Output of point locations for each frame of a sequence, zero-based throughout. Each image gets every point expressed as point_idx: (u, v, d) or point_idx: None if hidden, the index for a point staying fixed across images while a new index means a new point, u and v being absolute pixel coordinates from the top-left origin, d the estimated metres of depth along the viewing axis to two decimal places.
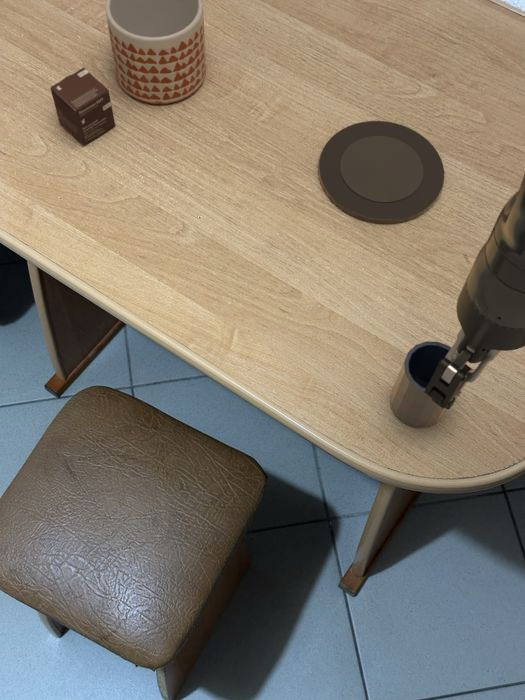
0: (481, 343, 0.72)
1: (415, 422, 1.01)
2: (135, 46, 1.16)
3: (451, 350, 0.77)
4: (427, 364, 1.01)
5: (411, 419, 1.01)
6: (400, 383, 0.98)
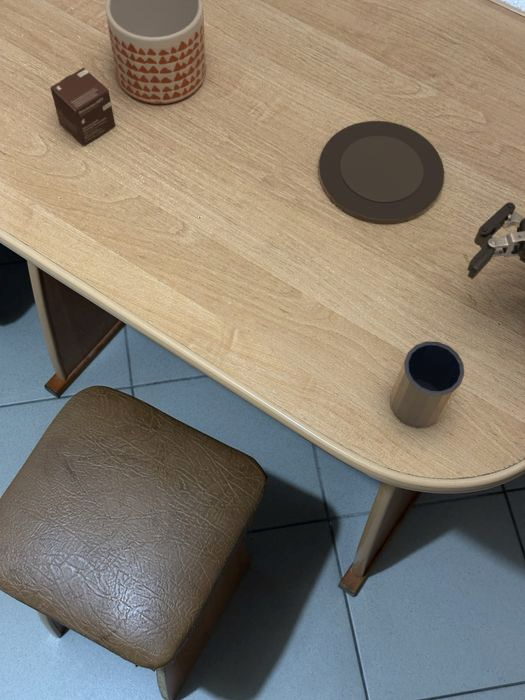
0: None
1: (415, 422, 1.01)
2: (135, 46, 1.16)
3: None
4: (427, 364, 1.01)
5: (411, 419, 1.01)
6: (400, 383, 0.98)
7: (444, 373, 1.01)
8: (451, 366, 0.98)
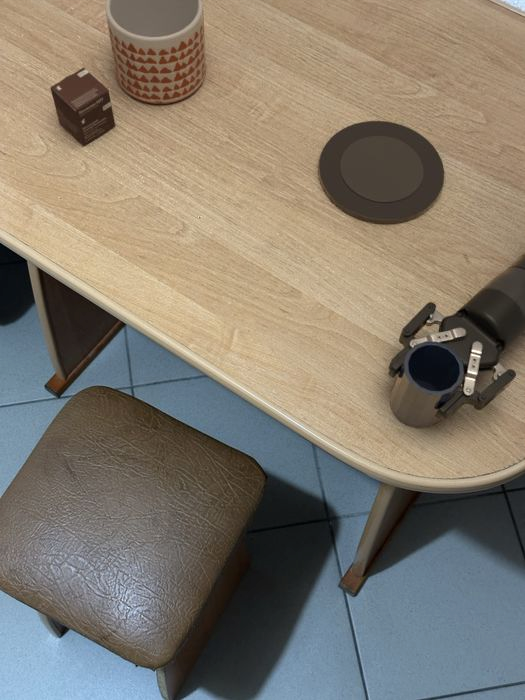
0: None
1: (415, 422, 1.01)
2: (135, 46, 1.16)
3: None
4: (427, 364, 1.01)
5: (411, 419, 1.01)
6: (400, 383, 0.98)
7: (444, 373, 1.01)
8: (451, 366, 0.98)
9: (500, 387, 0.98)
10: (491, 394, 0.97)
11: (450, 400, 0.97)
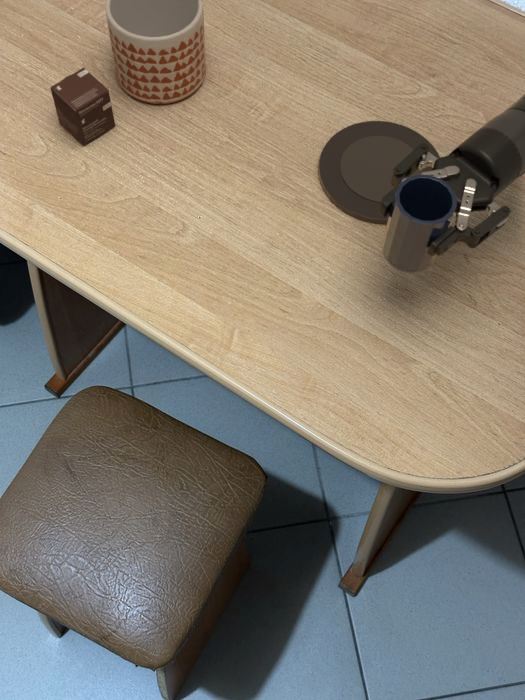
0: None
1: (407, 265, 0.99)
2: (135, 46, 1.16)
3: None
4: (419, 205, 0.99)
5: (403, 261, 0.98)
6: (391, 219, 0.95)
7: (437, 213, 0.98)
8: (444, 201, 0.95)
9: (494, 223, 0.95)
10: (485, 229, 0.95)
11: (443, 235, 0.94)
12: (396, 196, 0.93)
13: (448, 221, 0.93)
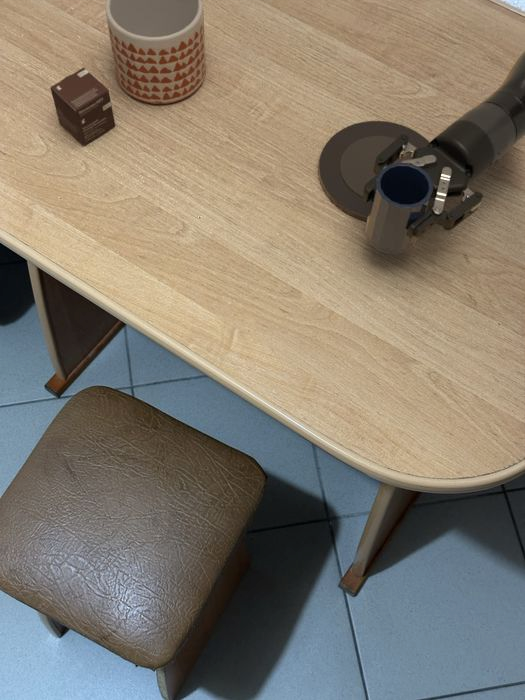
0: None
1: (388, 246, 1.07)
2: (135, 46, 1.16)
3: None
4: (400, 191, 1.07)
5: (384, 243, 1.07)
6: (373, 203, 1.04)
7: (416, 198, 1.06)
8: (422, 187, 1.04)
9: (468, 207, 1.03)
10: (459, 213, 1.03)
11: (420, 218, 1.02)
12: (377, 182, 1.01)
13: (425, 205, 1.01)
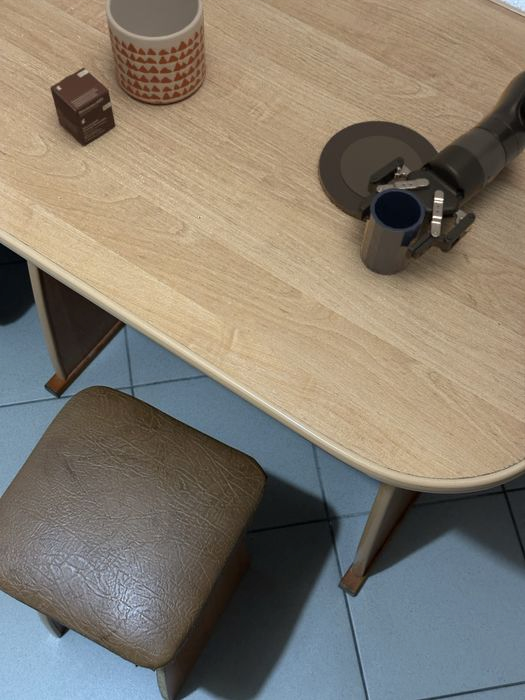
0: None
1: (382, 267, 1.11)
2: (135, 46, 1.16)
3: None
4: (393, 215, 1.11)
5: (378, 264, 1.11)
6: (367, 227, 1.08)
7: (408, 222, 1.11)
8: (414, 211, 1.08)
9: (463, 228, 1.07)
10: (456, 235, 1.07)
11: (419, 240, 1.06)
12: (371, 207, 1.06)
13: (417, 229, 1.05)
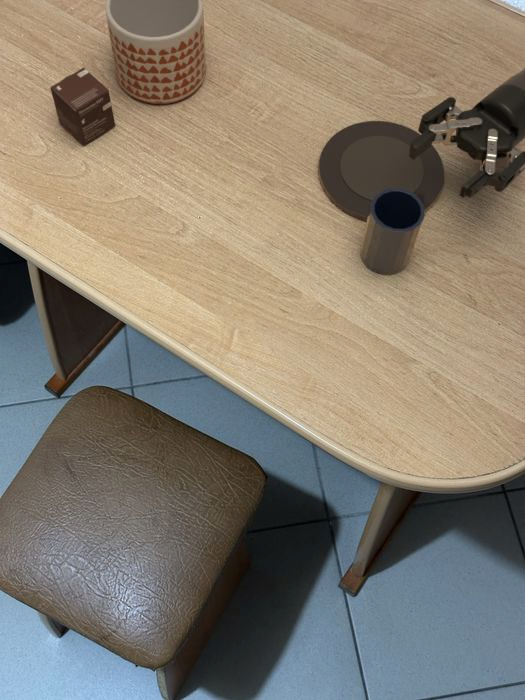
0: None
1: (382, 267, 1.11)
2: (135, 46, 1.16)
3: None
4: (393, 215, 1.11)
5: (378, 264, 1.11)
6: (367, 227, 1.08)
7: (408, 222, 1.11)
8: (414, 211, 1.08)
9: (518, 166, 1.06)
10: (511, 173, 1.05)
11: (473, 178, 1.05)
12: (371, 207, 1.06)
13: (417, 229, 1.05)
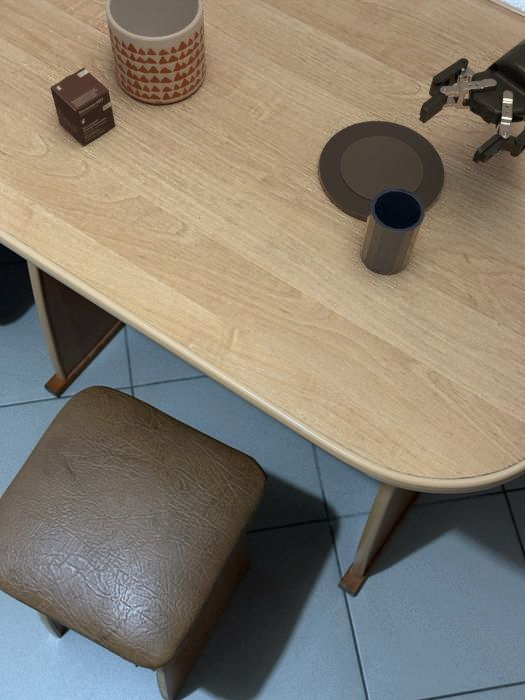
0: None
1: (382, 267, 1.11)
2: (135, 46, 1.16)
3: None
4: (393, 215, 1.11)
5: (378, 264, 1.11)
6: (367, 227, 1.08)
7: (408, 222, 1.11)
8: (414, 211, 1.08)
9: None
10: None
11: (488, 142, 0.99)
12: (371, 207, 1.06)
13: (417, 229, 1.05)
